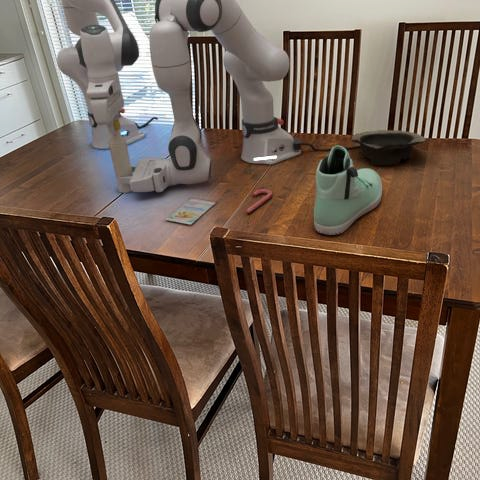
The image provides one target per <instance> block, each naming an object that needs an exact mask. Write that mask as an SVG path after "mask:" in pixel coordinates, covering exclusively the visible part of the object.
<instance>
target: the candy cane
mask: <svg viewBox="0 0 480 480" xmlns="http://www.w3.org/2000/svg"><path fill="white" fill-rule="evenodd" d="M261 194H265V195H264V196H263V197H262V198H260V199H259V200H257V201H256V202H255V203H254V204H252V205H251V206H250V207H248V208H247V209H246V210H245V213H246V214H248V215H249V214H251V213H252V212H254V211H255V210H257V209H258V208H259V207H260V206H261V205H263V204H264V203H265V202H267V201H268V200H269V199H271V198H272V197H273V192H272V191H271V190H270V189H266V188H260V189H256V190H255V191H253V193H252V196H253V197H257V196H258V195H261Z"/></svg>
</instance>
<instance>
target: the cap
mask: <svg viewBox="0 0 480 480" xmlns="http://www.w3.org/2000/svg"><path fill="white" fill-rule="evenodd" d="M113 125H114V126H115V129H116V130H119V129H120V128H121V127H120V122H119V120H113Z"/></svg>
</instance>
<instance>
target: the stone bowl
mask: <svg viewBox="0 0 480 480" xmlns="http://www.w3.org/2000/svg"><path fill="white" fill-rule="evenodd" d="M425 141H427V138H426V137H425V136H423V135H420V134H419V133H415V132H411V131H406V130H405V131H404V130H393V129H392V130H390V129H389V130H386V129H385V130H384V129H378V130H368V131H362V132H359V133H355V134H353V135H352V136H351V142H353V143H355V144H358V145H359V146H360V148H359V149H360V151H361V153H362V154H363V156H364V157H366V158H367V159H369V160H370V164H371V165H373V166H377V165H378V166H389V165H397V164H399V163H401V160H410V159H411V158H412V155H413V150H414V149H413V148H414V146H416V145H419V144H422V143H424V142H425Z"/></svg>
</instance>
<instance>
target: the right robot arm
mask: <svg viewBox="0 0 480 480" xmlns="http://www.w3.org/2000/svg"><path fill="white" fill-rule="evenodd" d="M154 20H155V21H154V22H155V23H154V24H153V25H152V26H151V27H150V29H149V53H150V54H149V55H150V63H151V66H152V67H151V68H152V72H153V76H154V79H155V82H156V85H157V87H158V88H159V89H160V90H161V91H162V92H164V93H166V94H167V96H168V97H169V100H170V104H171V109H172V115H173V125H172V128H171V132H170V138H169V141H168V144H167V145H168V146H167V151H168V153H169V158H159V157H142V158H139V160H138V162H137V164H134V165H131V168H132V173H133V175H132V176H129V177H125V176H120V177H119V182H120V183H128V184H130V188H131V191H132V192H134V193H148V192H149V193H150V192H153V191H155V192H156V193H161V192H163V191H164V190H165V189H166V188H169V186H176V185H180V184H181V185H195V184H202V183H206V182H207V181H209V180H210V178H211V173H212V163H213V162H212V159H211V158H210V157H209V156H208V155H207V153H205V151H204V150H203V147H202V146H201V144H200V143H201V140H202V137H203V135H202V134H203V133H202V130H201V127H200V125H199V124H198V122H197V120H196V118H195V117H194V113H193V107H192V99H191V95H190V90H191V84H192V83H191V81H192V66H191V58H190V53H189V48H188V38H189V35H190V32H198V33H205V32H209V31H211V33H212V34H213V36H215V38H216V40H217V41H218V42H219V44H220V45H221V46H222V48H223V49H224V50H225V51H224V54H223V58H222V59H223V60H222V61H223V67H224V69H225V71H226V72H227V73H228V74H229V75H230V76H231V78H232V80H233V81H234V84H235V86H236V88H237V91H238V94H239V97H240V103H241V113H242V114H241V115H242V119H241V132H242V136H243V140H242V148H241V149H242V150H241V155H240V159H241V160H242V161H243V162H245V163H248V164H249V163H250V164H263V165H276V164H277V163H280V162H282V161H285V160H288V159H291V158H294V157H296V156H299V155H301V154H302V146H308V147H310V148H311V149H312V150H313V151H316V152H331V149H332V148H333V147H331V148H316V147H314V145H313V144H312V143H309V142H302V141H301V138H299V137H295V138H294V137H293V135H292V134H291V133H289V132H288V131H286V130H284V129H283V128H282V127H280V126H283V125H284V122H285V121H284V119H281V118H278V117H276V116H275V115H274V114H275V113H274V97H273V94H272V92H271V91H269V90H268V88H267V87H266V86H265V83H264V82H267V83H270V82H279V81H281V80H283V79H284V78H285V77H286V76H287V74H288V72H289V69H290V58H289V55H288V53H287V52H286V51H285V50H284V49H282V48H280V47H278V46H276V45H275V44H273V43H272V42H271V41H270V40H268V39H267V38H266V37H265V36H264V35H263V34H262V33H261V32H259V30H257V29H256V28H255V27H254V25H253V24H252V23H251V21H250V20H249V18H248V17H247V16H246V14H245V12H244V11H243V9H242V7H241V6H240V5H239V3H238V2H237V0H155V3H154ZM279 125H280V126H279ZM344 148H345V149H346V150H347V151H348V150H353V149H361V148H360V145H354V146H345V147H344Z"/></svg>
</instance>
